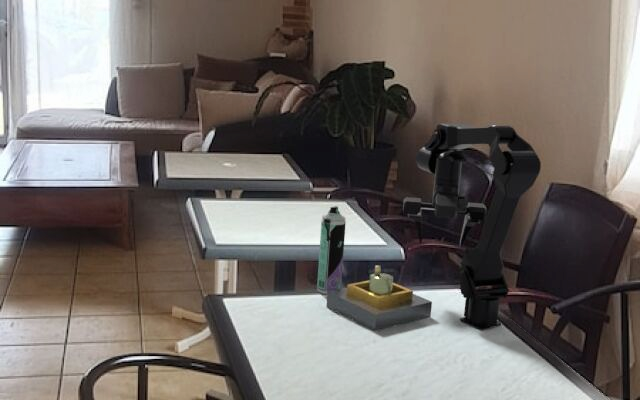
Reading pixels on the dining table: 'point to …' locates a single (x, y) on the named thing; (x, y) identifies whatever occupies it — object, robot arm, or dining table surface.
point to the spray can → (331, 251)
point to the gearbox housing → (378, 305)
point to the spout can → (380, 283)
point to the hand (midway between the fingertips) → (440, 244)
